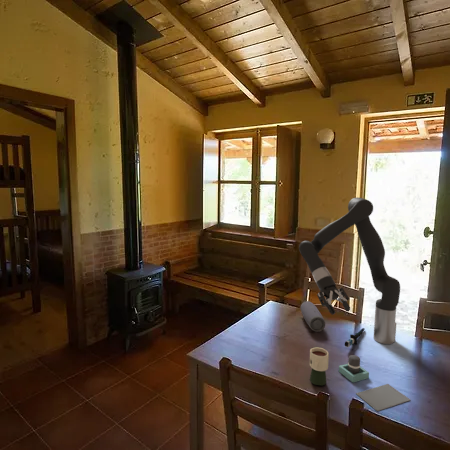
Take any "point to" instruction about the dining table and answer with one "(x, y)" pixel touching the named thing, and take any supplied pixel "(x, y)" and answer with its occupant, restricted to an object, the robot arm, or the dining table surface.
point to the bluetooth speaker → (312, 316)
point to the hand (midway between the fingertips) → (341, 312)
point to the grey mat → (382, 397)
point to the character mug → (318, 365)
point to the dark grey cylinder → (354, 364)
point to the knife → (353, 338)
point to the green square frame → (353, 378)
